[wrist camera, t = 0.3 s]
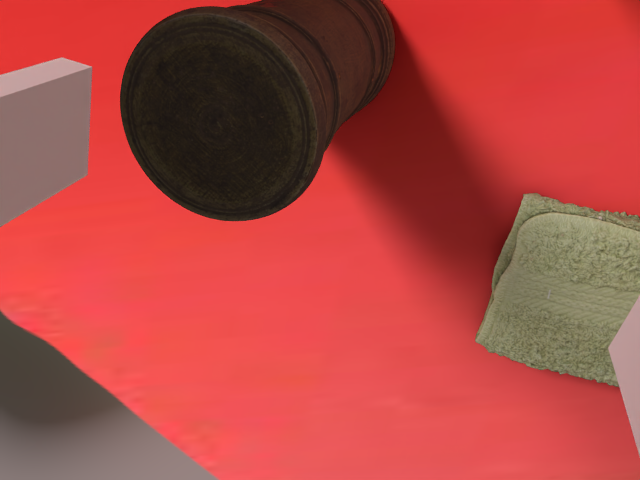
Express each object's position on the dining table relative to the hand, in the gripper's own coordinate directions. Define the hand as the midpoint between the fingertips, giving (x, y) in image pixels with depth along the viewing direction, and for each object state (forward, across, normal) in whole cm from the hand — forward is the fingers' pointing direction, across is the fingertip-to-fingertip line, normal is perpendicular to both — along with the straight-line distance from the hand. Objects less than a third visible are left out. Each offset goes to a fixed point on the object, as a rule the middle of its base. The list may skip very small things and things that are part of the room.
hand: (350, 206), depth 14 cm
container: (+27, -7, -3) cm, 28 cm away
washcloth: (+28, +17, -13) cm, 35 cm away
